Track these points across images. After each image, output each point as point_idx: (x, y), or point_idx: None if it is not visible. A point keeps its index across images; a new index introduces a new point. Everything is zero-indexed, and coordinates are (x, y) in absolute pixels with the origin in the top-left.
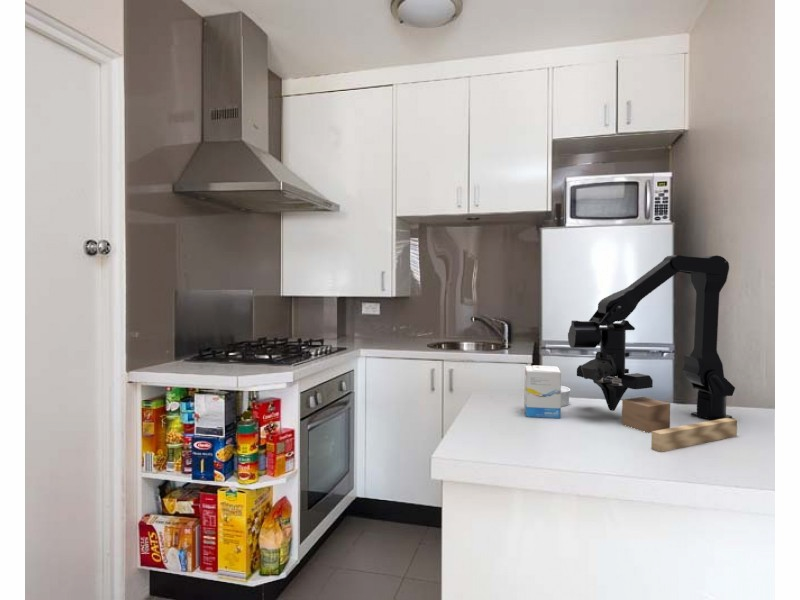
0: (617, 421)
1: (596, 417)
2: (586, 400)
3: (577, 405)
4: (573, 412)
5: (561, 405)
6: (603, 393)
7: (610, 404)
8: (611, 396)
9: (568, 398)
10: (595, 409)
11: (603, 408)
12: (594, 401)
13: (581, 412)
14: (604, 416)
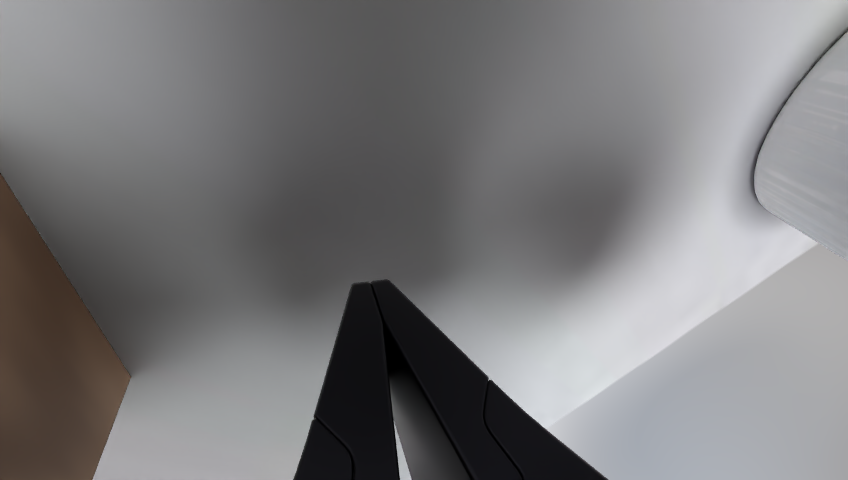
0: (157, 177)
1: (397, 81)
2: (666, 328)
3: (686, 223)
4: (666, 3)
5: (810, 83)
6: (529, 417)
7: (370, 326)
8: (351, 445)
9: (806, 196)
10: (554, 265)
11: (529, 320)
12: (626, 349)
13: (601, 92)
14: (385, 192)
